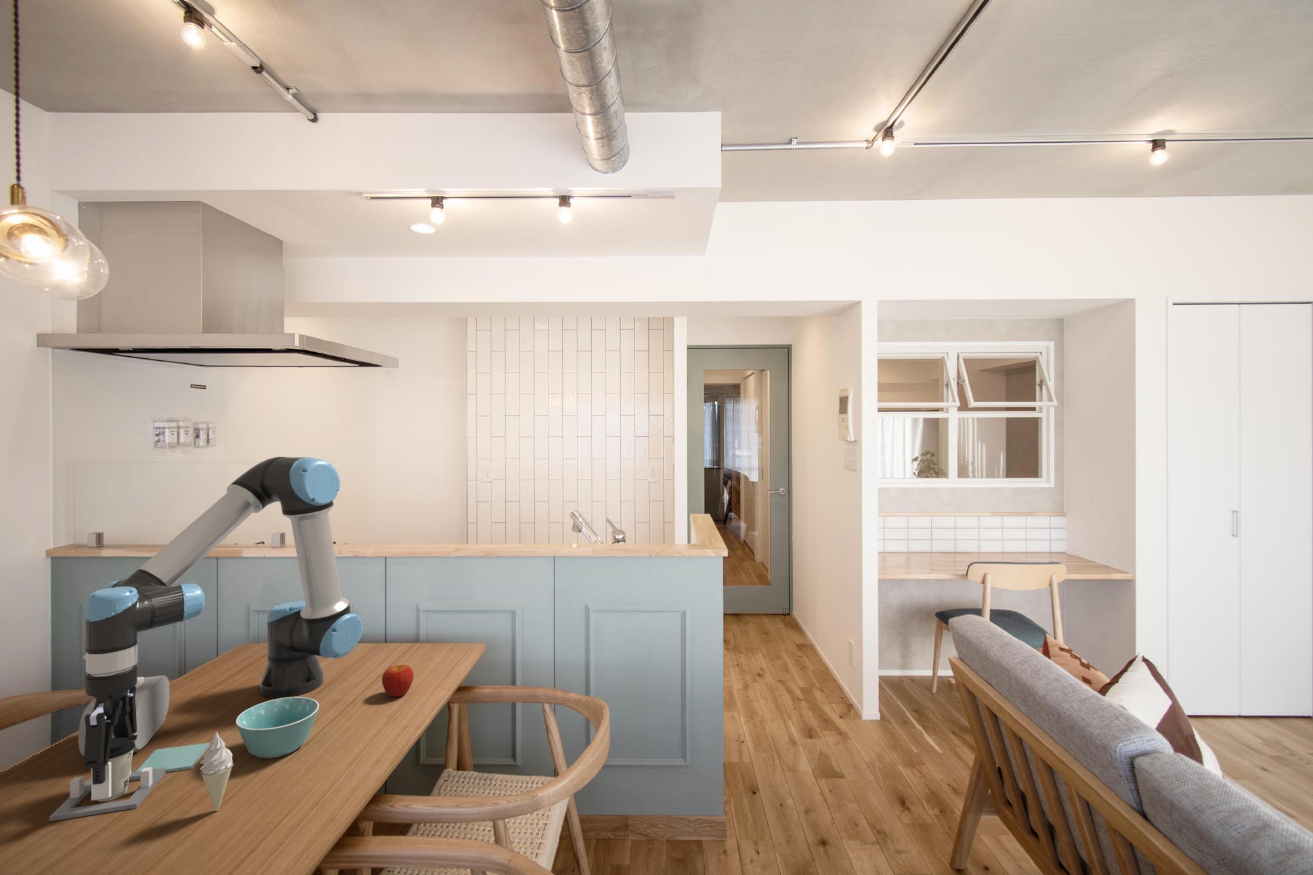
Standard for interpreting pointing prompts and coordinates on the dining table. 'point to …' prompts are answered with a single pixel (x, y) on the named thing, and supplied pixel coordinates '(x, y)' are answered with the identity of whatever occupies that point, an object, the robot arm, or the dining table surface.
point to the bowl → (277, 725)
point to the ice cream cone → (216, 769)
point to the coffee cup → (120, 766)
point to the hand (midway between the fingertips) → (111, 786)
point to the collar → (81, 790)
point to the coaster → (175, 757)
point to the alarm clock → (140, 710)
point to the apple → (397, 680)
